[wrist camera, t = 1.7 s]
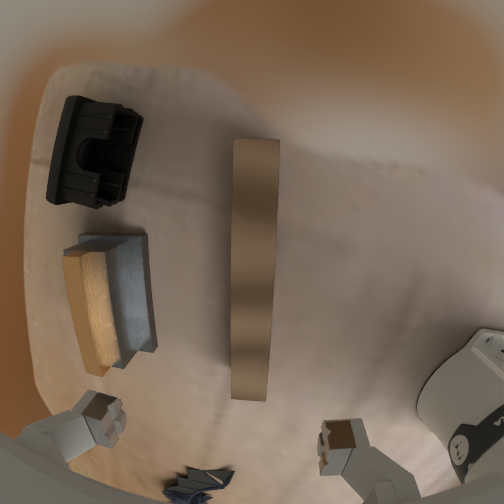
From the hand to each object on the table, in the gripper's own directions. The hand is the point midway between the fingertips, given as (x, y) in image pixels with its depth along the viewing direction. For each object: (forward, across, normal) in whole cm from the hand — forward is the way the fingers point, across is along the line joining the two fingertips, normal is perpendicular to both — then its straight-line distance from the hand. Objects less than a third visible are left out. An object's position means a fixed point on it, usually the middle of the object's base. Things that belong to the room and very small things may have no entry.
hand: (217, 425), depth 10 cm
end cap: (+20, +16, -12) cm, 28 cm away
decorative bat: (+20, +10, +44) cm, 50 cm away
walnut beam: (+20, 0, 0) cm, 20 cm away
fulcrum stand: (+20, +15, +3) cm, 25 cm away
